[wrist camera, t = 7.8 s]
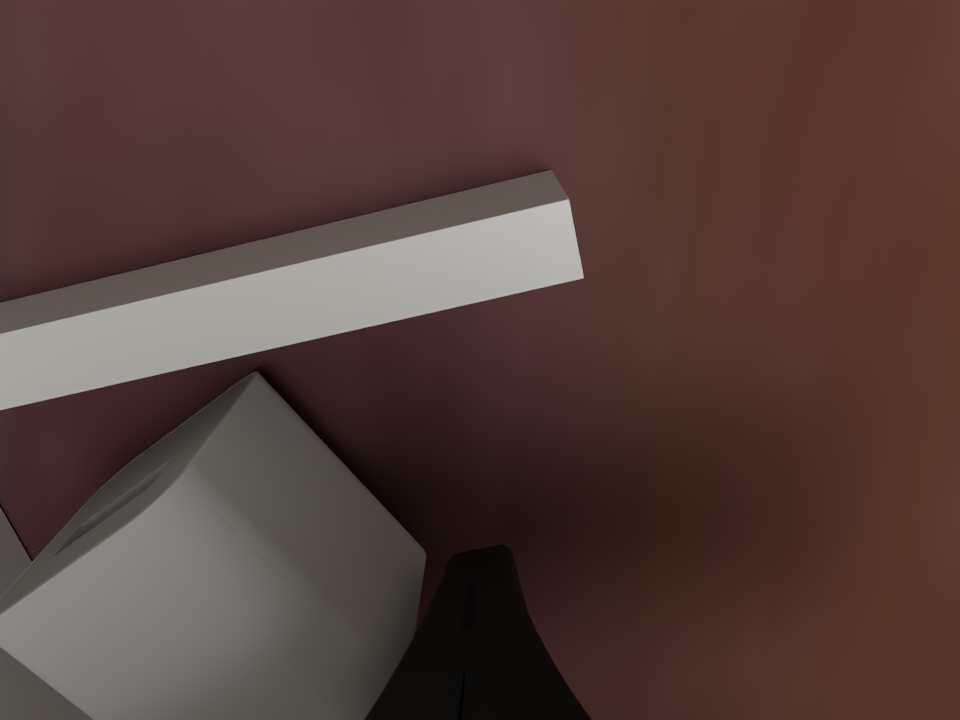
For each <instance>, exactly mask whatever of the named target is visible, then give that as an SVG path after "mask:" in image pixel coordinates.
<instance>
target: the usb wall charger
mask: <svg viewBox="0 0 960 720" xmlns="http://www.w3.org/2000/svg"><path fill="white" fill-rule="evenodd" d="M425 562H426V553H425V550H424V549H423V548H422V547H421V546H420V545H419V544H418V543H417V542H416V540H415V539H414V538H413V537H412V536H411V535H410V534H409V533H408V532H407V531H406V530H405V529H404V528H403V527H402V526H401V524H400V523H399V522H398V521H397V520H396V519H395V518H394V517H393V516H392V515H391V514H390V513H389V512H388V511H387V509H386V508H385V507H384V506H383V505H382V504H381V503H380V502H379V501H378V500H377V499H376V498H375V497H374V496H373V495H372V493H371V492H370V491H369V490H368V489H367V488H366V487H365V486H364V485H363V484H362V483H361V482H360V481H359V480H358V479H357V477H356V476H355V475H354V474H353V473H352V472H351V471H350V470H349V469H348V468H347V467H346V466H345V465H344V464H343V463H342V461H341V460H340V459H339V458H338V457H337V456H336V455H335V454H334V453H333V452H332V451H331V450H330V449H329V448H328V447H327V445H326V444H325V443H324V442H323V441H322V440H321V439H320V438H319V437H318V436H317V435H316V434H315V433H314V432H313V430H312V429H311V428H310V427H309V426H308V425H307V424H306V423H305V422H304V421H303V420H302V419H301V418H300V417H299V416H298V414H297V413H296V412H295V411H294V410H293V409H292V408H291V407H290V406H289V405H288V404H287V403H286V402H285V401H284V400H283V398H282V397H281V396H280V395H279V394H278V393H277V392H276V391H275V390H274V389H273V388H272V387H271V386H270V385H269V384H268V382H267V381H266V380H265V379H264V378H263V377H262V376H261V375H260V374H259V373H258V372H257V371H255V372H252V373H250V374H249V375H247V376H245V377H244V378H242V379H241V380H240V381H238V382H237V383H236V384H234V385H233V386H231V387H230V388H229V389H227V390H226V391H225V392H223V393H222V394H221V395H219V396H218V397H217V398H215V399H214V400H213V401H211V402H210V403H209V404H207V405H206V406H205V407H203V408H202V409H201V410H199V411H198V412H196V413H195V414H194V415H192V416H191V417H190V418H188V419H187V420H186V421H184V422H183V423H182V424H180V425H179V426H178V427H176V428H175V429H174V430H172V431H171V432H170V433H168V434H167V435H166V436H164V437H163V438H161V439H160V440H159V441H157V442H156V443H155V444H153V445H152V446H151V447H149V448H148V449H147V450H145V451H144V452H143V453H141V454H140V455H139V456H137V457H136V458H135V459H133V460H132V461H131V462H129V463H128V464H127V465H126V466H124V467H123V468H122V469H121V470H120V471H118V472H117V473H116V474H115V475H114V476H113V477H112V478H110V479H109V480H108V481H107V482H106V483H105V484H104V485H103V486H102V487H101V488H100V489H99V490H98V491H97V492H95V493H94V494H93V495H92V496H91V498H90V499H89V500H88V501H87V502H86V503H85V504H84V505H83V506H82V507H81V508H80V509H79V511H78V512H77V513H76V514H75V515H74V516H73V517H72V518H71V519H70V521H69V522H68V523H67V524H66V525H65V526H64V527H63V528H62V529H61V530H60V532H59V533H58V534H57V535H56V536H55V537H54V538H53V539H52V540H51V542H50V543H49V544H48V545H47V546H46V547H45V548H44V549H43V550H42V551H41V553H40V554H39V555H38V556H37V557H36V558H35V559H34V560H33V561H32V563H31V564H30V565H29V566H28V567H27V568H26V569H25V570H24V571H23V572H22V574H21V575H20V576H19V577H18V578H17V579H16V580H15V581H14V582H13V584H12V585H11V586H10V587H9V588H8V589H7V590H6V591H5V592H4V593H3V595H2V596H1V597H0V647H1V648H2V649H4V650H5V651H6V652H8V653H9V654H10V655H11V656H13V657H14V658H15V659H17V660H18V661H19V662H20V663H22V664H23V665H24V666H25V667H27V668H28V669H29V670H31V671H32V672H33V673H34V674H36V675H37V676H38V677H40V678H41V679H42V680H43V681H45V682H46V683H47V684H49V685H50V686H51V687H52V688H54V689H55V690H56V691H58V692H59V693H60V694H61V695H63V696H64V697H65V698H67V699H68V700H69V701H70V702H72V703H73V704H74V705H75V706H77V707H78V708H79V709H81V710H82V711H83V712H84V713H86V714H87V715H88V716H90V717H91V718H92V719H93V720H364V719H365V717H366V716H367V714H368V713H369V711H370V710H371V708H372V707H373V705H374V704H375V702H376V701H377V699H378V697H379V696H380V694H381V693H382V691H383V689H384V688H385V686H386V684H387V683H388V681H389V679H390V677H391V676H392V674H393V672H394V671H395V669H396V667H397V666H398V664H399V662H400V661H401V659H402V657H403V655H404V654H405V652H406V650H407V648H408V646H409V644H410V642H411V640H412V638H413V637H414V635H415V630H416V623H417V617H418V610H419V603H420V596H421V589H422V582H423V575H424V568H425Z"/></svg>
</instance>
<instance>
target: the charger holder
mask: <svg viewBox="0 0 960 720" xmlns="http://www.w3.org/2000/svg"><path fill="white" fill-rule="evenodd" d="M582 278H584V276H583V271H582V266H581V260H580V255H579V250H578V245H577V239H576V234H575V229H574V224H573V218H572V213H571V208H570V203H569V199H568V197H567V195H566V194H565V192H564V190H563V189H562V187H561V185H560V184H559V182H558V180H557V179H556V177H555V175H554V174H553V172H552V170H548V171H544V172H540V173H536V174H531V175H527V176H523V177H519V178H515V179H511V180H507V181H502V182H498V183H494V184H490V185H486V186H482V187H478V188H473V189H469V190H465V191H461V192H457V193H453V194H449V195H444V196H440V197H436V198H432V199H428V200H424V201H420V202H415V203H411V204H407V205H403V206H399V207H395V208H391V209H386V210H382V211H378V212H374V213H370V214H366V215H362V216H357V217H353V218H349V219H345V220H341V221H337V222H333V223H328V224H324V225H320V226H316V227H312V228H308V229H304V230H299V231H295V232H291V233H287V234H283V235H279V236H275V237H270V238H266V239H262V240H258V241H254V242H250V243H246V244H241V245H237V246H233V247H229V248H225V249H221V250H217V251H213V252H208V253H204V254H200V255H196V256H192V257H188V258H184V259H179V260H175V261H171V262H167V263H163V264H159V265H155V266H150V267H146V268H142V269H138V270H134V271H130V272H126V273H121V274H117V275H113V276H109V277H105V278H101V279H97V280H92V281H88V282H84V283H80V284H76V285H72V286H68V287H63V288H59V289H55V290H51V291H47V292H43V293H39V294H34V295H30V296H26V297H22V298H18V299H14V300H10V301H5V302H1V303H0V410H3V409H8V408H12V407H17V406H21V405H26V404H30V403H34V402H39V401H43V400H48V399H52V398H56V397H61V396H65V395H70V394H74V393H79V392H83V391H87V390H92V389H96V388H101V387H105V386H109V385H114V384H118V383H123V382H127V381H132V380H136V379H140V378H145V377H149V376H154V375H158V374H163V373H167V372H171V371H176V370H180V369H185V368H189V367H193V366H198V365H202V364H207V363H211V362H216V361H220V360H224V359H229V358H233V357H238V356H242V355H246V354H251V353H255V352H260V351H264V350H269V349H273V348H277V347H282V346H286V345H291V344H295V343H300V342H304V341H308V340H313V339H317V338H322V337H326V336H330V335H335V334H339V333H344V332H348V331H353V330H357V329H361V328H366V327H370V326H375V325H379V324H383V323H388V322H392V321H397V320H401V319H406V318H410V317H414V316H419V315H423V314H428V313H432V312H437V311H441V310H445V309H450V308H454V307H459V306H463V305H467V304H472V303H476V302H481V301H485V300H490V299H494V298H498V297H503V296H507V295H512V294H516V293H520V292H525V291H529V290H534V289H538V288H543V287H547V286H551V285H556V284H560V283H565V282H569V281H574V280H578V279H582ZM31 563H32V561H31V560H30V558H29V556H28V554H27V553H26V551H25V549H24V547H23V546H22V544H21V542H20V541H19V539H18V537H17V535H16V534H15V532H14V530H13V528H12V527H11V525H10V523H9V521H8V520H7V518H6V516H5V515H4V513H3V511H2V509H1V508H0V597H1V596H2V595H3V593H4V592H5V591H6V590H7V589H8V588H9V587H10V586H11V585H12V584H13V582H14V581H15V580H16V579H17V578H18V577H19V576H20V575H21V574H22V572H23V571H24V570H25V569H26V568H27V567H28V566H29V565H30V564H31ZM0 720H93V719H92V718H91V717H90V716H88V715H87V714H86V713H84V712H83V711H82V710H81V709H79V708H78V707H77V706H75V705H74V704H73V703H72V702H70V701H69V700H68V699H67V698H65V697H64V696H63V695H61V694H60V693H59V692H58V691H56V690H55V689H54V688H52V687H51V686H50V685H49V684H47V683H46V682H45V681H43V680H42V679H41V678H40V677H38V676H37V675H36V674H34V673H33V672H32V671H31V670H29V669H28V668H27V667H25V666H24V665H23V664H22V663H20V662H19V661H18V660H17V659H15V658H14V657H13V656H11V655H10V654H9V653H8V652H6V651H5V650H4V649H2V648H1V647H0Z"/></svg>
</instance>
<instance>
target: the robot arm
mask: <svg viewBox="0 0 960 720" xmlns="http://www.w3.org/2000/svg"><path fill="white" fill-rule="evenodd" d="M364 720H591V718H590V717H589V715H588V714H587V713H586V711H585V710H584V709H583V707H582V706H581V704H580V703H579V701H578V700H577V698H576V697H575V695H574V694H573V693H572V691H571V690H570V688H569V687H568V685H567V683H566V682H565V680H564V679H563V677H562V675H561V674H560V672H559V671H558V669H557V667H556V666H555V664H554V662H553V660H552V659H551V657H550V655H549V653H548V652H547V650H546V648H545V646H544V644H543V643H542V641H541V639H540V637H539V635H538V633H537V631H536V629H535V627H534V625H533V623H532V620H531V618H530V616H529V614H528V611H527V607H526V604H525V600H524V596H523V593H522V589H521V585H520V582H519V578H518V574H517V570H516V567H515V563H514V559H513V556H512V552H511V549H510V548H508V547H506V546H504V545H498V546H493V547H488V548H483V549H477V550H472V551H467V552H462V553H457V554H453V556H452V557H451V559H450V560H449V562H448V564H447V567H446V569H445V571H444V574H443V576H442V578H441V581H440V583H439V585H438V587H437V590H436V592H435V594H434V596H433V598H432V600H431V603H430V605H429V607H428V609H427V611H426V613H425V615H424V617H423V619H422V621H421V623H420V625H419V627H418V629H417V631H416V633H415V635H414V637H413V638H412V640H411V642H410V644H409V646H408V648H407V650H406V652H405V654H404V655H403V657H402V659H401V661H400V662H399V664H398V666H397V667H396V669H395V671H394V672H393V674H392V676H391V677H390V679H389V681H388V683H387V684H386V686H385V688H384V689H383V691H382V693H381V694H380V696H379V697H378V699H377V701H376V702H375V704H374V705H373V707H372V708H371V710H370V711H369V713H368V714H367V716H366V717H365V719H364Z"/></svg>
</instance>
